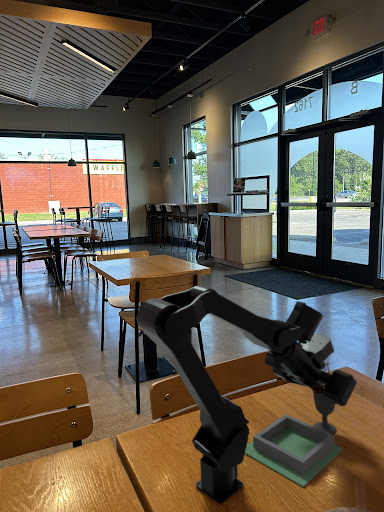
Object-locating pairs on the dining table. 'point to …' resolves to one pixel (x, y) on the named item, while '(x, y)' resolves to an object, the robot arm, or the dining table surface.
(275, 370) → the robot arm
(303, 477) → the rimmed mat
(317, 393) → the sundae
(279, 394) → the dining table surface
